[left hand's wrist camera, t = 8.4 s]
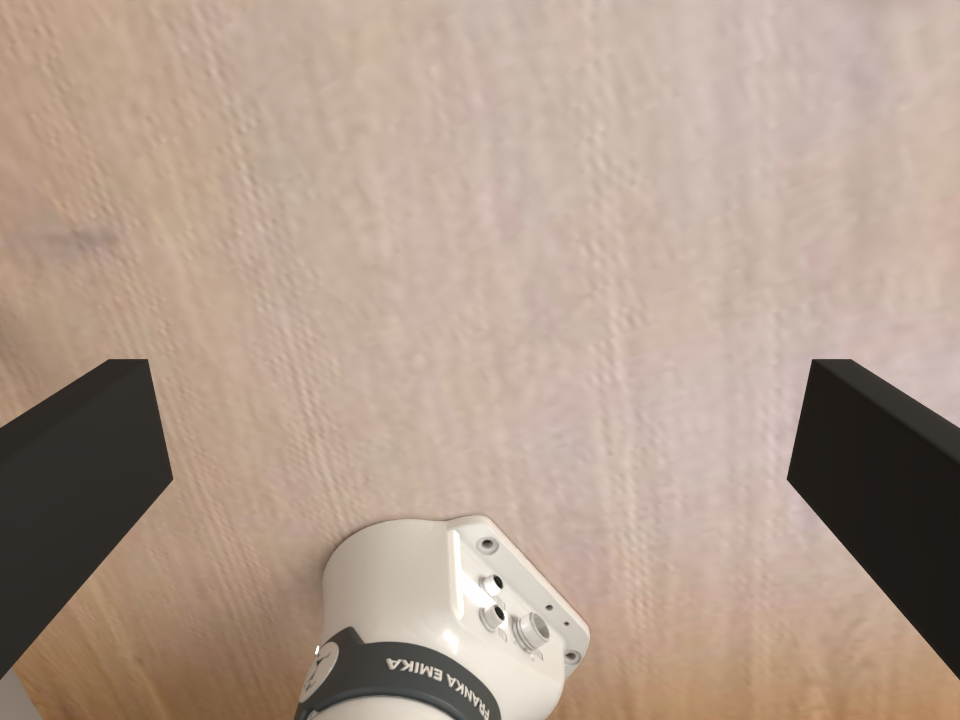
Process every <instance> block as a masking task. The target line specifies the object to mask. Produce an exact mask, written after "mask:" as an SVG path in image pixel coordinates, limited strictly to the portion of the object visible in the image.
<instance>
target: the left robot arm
mask: <svg viewBox="0 0 960 720" xmlns="http://www.w3.org/2000/svg"><path fill="white" fill-rule="evenodd" d="M172 480H173V476H172V471H171V466H170V462H169V457H168V452H167V448H166V443H165V438H164V433H163V429H162V424H161V419H160V415H159V410H158V405H157V401H156V396H155V391H154V386H153V382H152V377H151V372H150V368H149V363H148V359H109V360H107V361H105V362H104V363H102V364H101V365H99V366H98V367H96V368H94V369H93V370H91V371H90V372H88V373H86V374H85V375H83V376H82V377H80V378H79V379H77V380H75V381H74V382H72V383H71V384H69V385H68V386H66V387H64V388H63V389H61V390H60V391H58V392H57V393H55V394H53V395H52V396H50V397H49V398H47V399H45V400H44V401H42V402H41V403H39V404H38V405H36V406H34V407H33V408H31V409H30V410H28V411H27V412H25V413H23V414H22V415H20V416H19V417H17V418H16V419H14V420H12V421H11V422H9V423H8V424H6V425H4V426H3V427H1V428H0V680H1V678H2V677H3V676H4V675H5V674H6V673H7V671H8V670H9V669H10V668H11V667H12V666H13V665H14V663H15V662H16V661H17V660H18V659H19V658H20V656H21V655H22V654H23V653H24V652H25V651H26V649H27V648H28V647H29V646H30V645H31V644H32V643H33V641H34V640H35V639H36V638H37V637H38V636H39V634H40V633H41V632H42V631H43V630H44V629H45V627H46V626H47V625H48V624H49V623H50V622H51V621H52V619H53V618H54V617H55V616H56V615H57V614H58V612H59V611H60V610H61V609H62V608H63V607H64V605H65V604H66V603H67V602H68V601H69V600H70V599H71V597H72V596H73V595H74V594H75V593H76V592H77V590H78V589H79V588H80V587H81V586H82V585H83V583H84V582H85V581H86V580H87V579H88V578H89V577H90V575H91V574H92V573H93V572H94V571H95V570H96V568H97V567H98V566H99V565H100V564H101V563H102V561H103V560H104V559H105V558H106V557H107V556H108V554H109V553H110V552H111V551H112V550H113V549H114V548H115V546H116V545H117V544H118V543H119V542H120V541H121V539H122V538H123V537H124V536H125V535H126V534H127V532H128V531H129V530H130V529H131V528H132V527H133V526H134V524H135V523H136V522H137V521H138V520H139V519H140V517H141V516H142V515H143V514H144V513H145V512H146V510H147V509H148V508H149V507H150V506H151V505H152V504H153V502H154V501H155V500H156V499H157V498H158V497H159V495H160V494H161V493H162V492H163V491H164V490H165V488H166V487H167V486H168V485H169V484H170V483H171V481H172ZM787 480H788V481H789V483H790V484H791V485H792V486H793V487H794V488H795V490H796V491H797V492H798V493H799V494H800V495H801V497H802V498H803V499H804V500H805V501H806V502H807V504H808V505H809V506H810V507H811V508H812V509H813V510H814V512H815V513H816V514H817V515H818V516H819V517H820V519H821V520H822V521H823V522H824V523H825V524H826V526H827V527H828V528H829V529H830V530H831V531H832V532H833V534H834V535H835V536H836V537H837V538H838V539H839V541H840V542H841V543H842V544H843V545H844V546H845V548H846V549H847V550H848V551H849V552H850V553H851V554H852V556H853V557H854V558H855V559H856V560H857V561H858V563H859V564H860V565H861V566H862V567H863V568H864V570H865V571H866V572H867V573H868V574H869V575H870V577H871V578H872V579H873V580H874V581H875V582H876V583H877V585H878V586H879V587H880V588H881V589H882V590H883V592H884V593H885V594H886V595H887V596H888V597H889V599H890V600H891V601H892V602H893V603H894V604H895V605H896V607H897V608H898V609H899V610H900V611H901V612H902V614H903V615H904V616H905V617H906V618H907V619H908V621H909V622H910V623H911V624H912V625H913V626H914V627H915V629H916V630H917V631H918V632H919V633H920V634H921V636H922V637H923V638H924V639H925V640H926V641H927V643H928V644H929V645H930V646H931V647H932V648H933V649H934V651H935V652H936V653H937V654H938V655H939V656H940V658H941V659H942V660H943V661H944V662H945V663H946V665H947V666H948V667H949V668H950V669H951V670H952V672H953V673H954V674H955V675H956V676H957V677H958V678H959V680H960V428H959V427H957V426H956V425H954V424H952V423H951V422H949V421H948V420H946V419H944V418H943V417H941V416H940V415H938V414H937V413H935V412H933V411H932V410H930V409H929V408H927V407H926V406H924V405H922V404H921V403H919V402H918V401H916V400H915V399H913V398H911V397H910V396H908V395H907V394H905V393H903V392H902V391H900V390H899V389H897V388H896V387H894V386H892V385H891V384H889V383H888V382H886V381H885V380H883V379H881V378H880V377H878V376H877V375H875V374H874V373H872V372H870V371H869V370H867V369H866V368H864V367H862V366H861V365H859V364H858V363H856V362H855V361H853V360H851V359H812V363H811V368H810V372H809V377H808V382H807V386H806V391H805V396H804V401H803V405H802V410H801V415H800V419H799V424H798V429H797V433H796V438H795V443H794V448H793V452H792V457H791V462H790V466H789V471H788V476H787Z"/></svg>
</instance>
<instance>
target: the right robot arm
mask: <svg viewBox="0 0 960 720" xmlns="http://www.w3.org/2000/svg"><path fill="white" fill-rule="evenodd" d="M484 540H490V541H491V542H490V543H484V542H483V541H484ZM322 597H323V618H322V628H321V636H320V642H319V646H318V647H317V651H316V656H315V658H314V660H313V662H312V664H311V666H310V668H309V670H308V673H307V675H306V678H305V681H304V684H303V686H302V690H301V693H300V697H299V704H298V707H297V710H296V714H295V718H294V720H545V719H546V718H547V717H548V716H549V715H550V713H551V712H552V711H553V709H554V708H555V706H556V705H557V703H558V701H559V699H560V697H561V694H562V691H563V687H564V681H565V680H566V679H567V678H568V677H569V676H570V675H571V673H572V672H573V671H574V670H575V669H576V667H577V666H578V665H579V663H580V662H581V660H582V658H583V657H584V655H585V653H586V650H587V647H588V644H589V640H590V632H589V627H588V626H587V624H586V623H585V622H584V621H583V619H582V618H581V617H580V616H579V615H578V614H577V613H576V612H575V611H574V610H573V609H572V607H571V606H570V605H569V604H568V603H567V602H566V601H565V600H564V599H563V598H562V597H561V596H560V594H559V593H558V592H557V591H556V590H555V589H554V588H553V587H552V586H551V585H550V584H549V583H548V581H547V580H546V579H545V578H544V577H543V576H542V575H541V574H540V573H539V572H538V571H537V570H536V568H535V567H534V566H533V565H532V564H531V563H530V562H529V561H528V560H527V559H526V558H525V557H524V555H523V554H522V553H521V552H520V551H519V550H518V549H517V548H516V547H515V546H514V545H513V544H512V542H511V541H510V540H509V539H508V538H507V537H506V536H505V535H504V534H503V533H502V532H501V531H500V529H499V528H498V527H497V526H496V525H495V524H494V523H493V522H492V521H491V520H490V519H489V518H487V517H485V516H482V515H470V516H465V517H460V518H456V519H452V520H448V521H431V520H422V519H397V520H389V521H385V522H380V523H377V524H374V525H371V526H368V527H366V528H364V529H362V530H360V531H358V532H356V533H355V534H353V535H352V536H350V537H349V538H347V539H346V540H345V541H344V542H343V543H342V544H341V545H340V546H339V547H338V548H337V549H336V550H335V551H334V553H333V554H332V555H331V557H330V559H329V561H328V563H327V565H326V567H325V570H324V573H323V578H322ZM568 653H570V654H568Z"/></svg>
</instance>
